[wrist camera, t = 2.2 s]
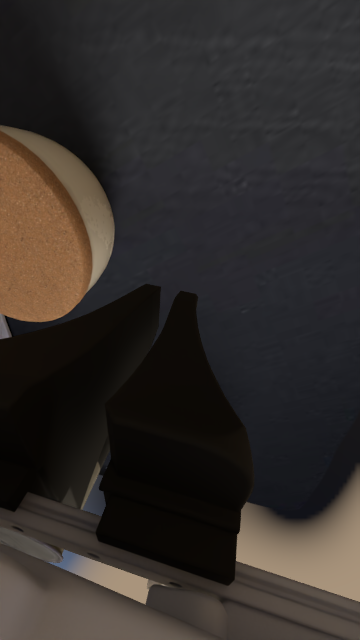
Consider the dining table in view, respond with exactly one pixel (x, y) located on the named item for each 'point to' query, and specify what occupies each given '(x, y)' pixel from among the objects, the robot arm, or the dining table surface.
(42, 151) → the trinket box
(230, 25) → the dining table surface
